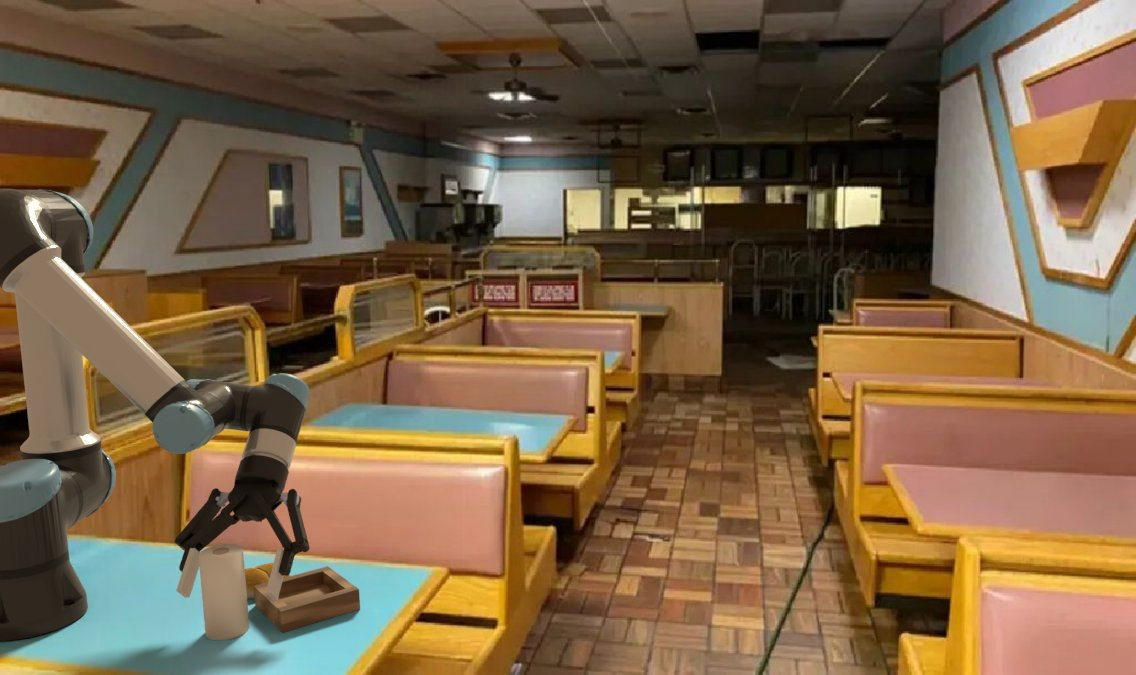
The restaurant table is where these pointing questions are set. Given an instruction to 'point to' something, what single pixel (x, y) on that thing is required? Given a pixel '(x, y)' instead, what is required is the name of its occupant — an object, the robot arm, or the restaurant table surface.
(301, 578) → the tray
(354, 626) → the restaurant table surface
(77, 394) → the robot arm
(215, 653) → the restaurant table surface
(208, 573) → the paper roll
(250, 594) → the bread roll
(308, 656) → the restaurant table surface
